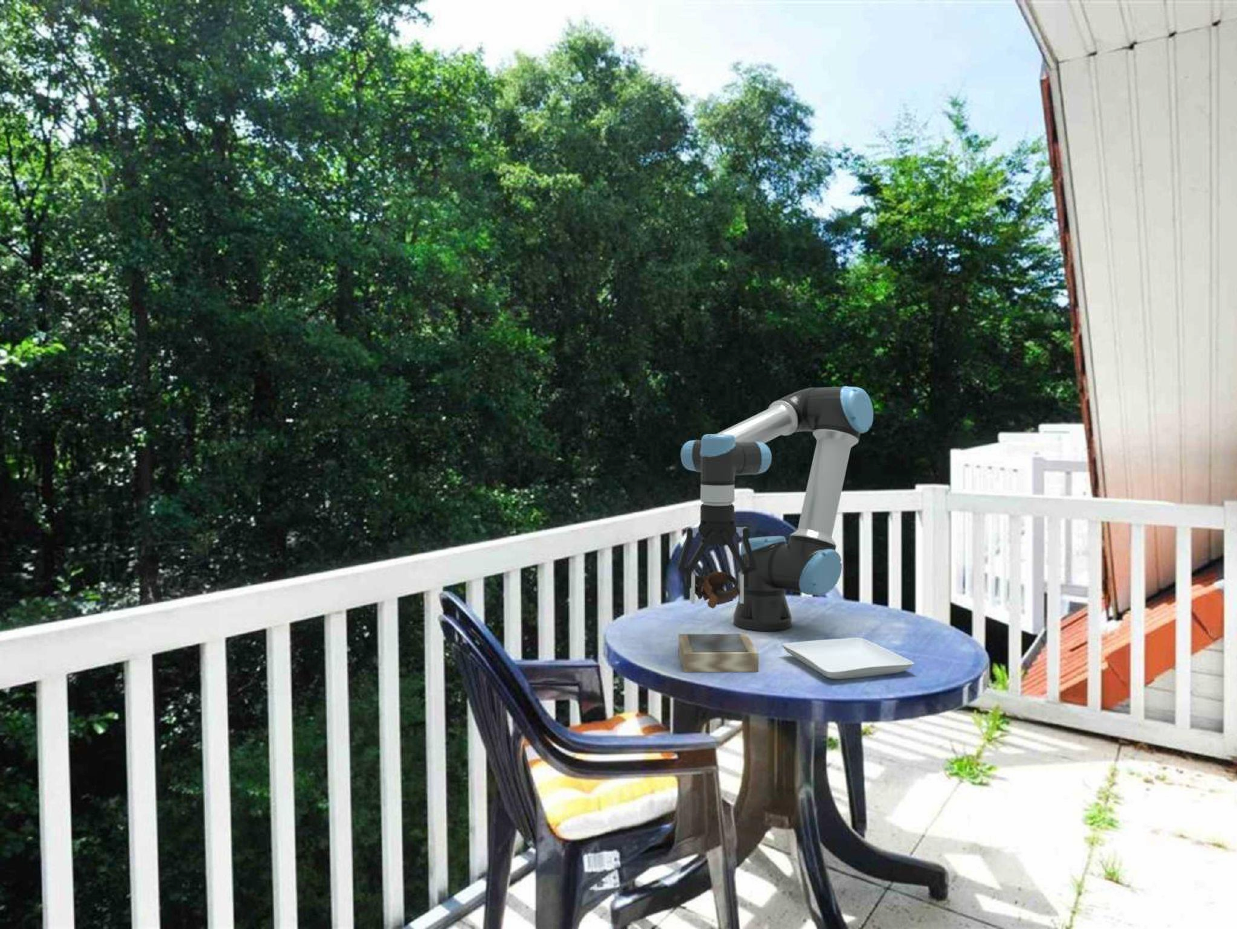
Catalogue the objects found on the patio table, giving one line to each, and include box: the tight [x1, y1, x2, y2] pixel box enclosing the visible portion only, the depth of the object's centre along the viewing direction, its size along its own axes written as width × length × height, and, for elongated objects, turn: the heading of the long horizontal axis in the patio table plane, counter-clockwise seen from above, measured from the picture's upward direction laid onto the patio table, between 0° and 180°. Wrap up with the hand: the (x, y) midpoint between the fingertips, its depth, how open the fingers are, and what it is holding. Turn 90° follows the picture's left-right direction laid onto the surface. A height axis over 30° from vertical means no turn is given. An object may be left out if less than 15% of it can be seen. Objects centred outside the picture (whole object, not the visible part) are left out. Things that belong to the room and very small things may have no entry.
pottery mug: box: [695, 571, 740, 609], centre depth 188 cm, size 12×10×8 cm
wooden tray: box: [677, 633, 760, 673], centre depth 187 cm, size 16×16×4 cm
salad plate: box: [781, 637, 915, 680], centre depth 183 cm, size 21×21×3 cm
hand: (716, 602), depth 186 cm, fingers closed on pottery mug, 10 cm apart
